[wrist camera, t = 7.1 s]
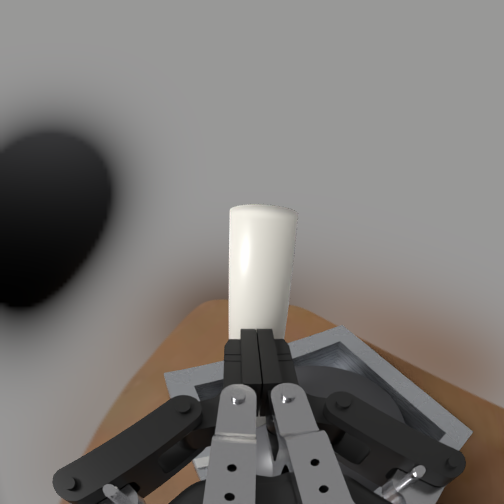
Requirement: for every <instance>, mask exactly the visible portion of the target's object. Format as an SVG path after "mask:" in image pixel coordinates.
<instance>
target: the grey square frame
mask: <svg viewBox="0 0 504 504" xmlns="http://www.w3.org/2000/svg"><path fill="white" fill-rule="evenodd" d="M287 344H288V345H289V347H290V351H291V355H292V359H293V363H294V367H299V366H329V367H335V368H340V369H344V370H348V371H351V372H354V373H356V374H359V375H361V376H363V377H365V378H367V379H369V380H371V381H372V382H374V383H375V384H377V385H378V386H380V387H381V388H382V389H383V390H384V391H386V392H387V393H388V394H389V395H390V397H391V398H392V399H393V400H394V401H395V403H396V404H397V406H398V407H399V409H400V411H401V413H402V416H403V419H404V422H405V424H406V425H408V426H409V427H411V428H413V429H415V430H417V431H419V432H421V433H423V434H425V435H427V436H429V437H431V438H433V439H435V440H437V441H439V442H441V443H443V444H445V445H448V446H450V447H452V448H454V449H456V450H458V451H459V450H460V449H461V447H462V446H463V445H464V443H465V442H466V441H467V440H468V438H469V437H470V435H471V434H472V433H473V431H471V430H470V429H469V428H468V427H467V426H465V425H464V424H463V423H462V422H460V421H459V420H458V419H457V418H456V417H454V416H453V415H452V414H451V413H449V412H448V411H447V410H446V409H445V408H443V407H442V406H441V405H440V404H438V403H437V402H436V401H435V400H434V399H432V398H431V397H430V396H429V395H427V394H426V393H425V392H424V391H423V390H421V389H420V388H419V387H418V386H416V385H415V384H414V383H413V382H412V381H410V380H409V379H408V378H407V377H405V376H404V375H403V374H402V373H400V372H399V371H398V370H397V369H396V368H394V367H393V366H392V365H391V364H389V363H388V362H387V361H386V360H385V359H383V358H382V357H381V356H380V355H378V354H377V353H376V352H375V351H374V350H372V349H371V348H370V347H369V346H367V345H366V344H365V343H364V342H363V341H361V340H360V339H359V338H358V337H356V336H355V335H354V334H353V333H351V332H350V331H349V330H348V329H346V328H345V327H344V326H343V325H341V326H338V327H335V328H332V329H330V330H327V331H324V332H321V333H318V334H315V335H312V336H309V337H306V338H303V339H300V340H297V341H293V342H290V343H287ZM223 374H224V361H220V362H216V363H212V364H207V365H203V366H198V367H193V368H188V369H183V370H178V371H173V372H167V373H164V377H165V381H166V385H167V389H168V393H169V396H170V399H171V398H173V397H175V396H178V395H188V396H192V397H194V398H196V399H197V400H198V401H203V400H208V399H211V398H214V397H215V396H217V395H218V394H219V393H220V392H221V390H222V388H223ZM210 449H211V446H209V447H206V448H205V449H204V451H202V452H201V453H200V454H199V455H198V456H197V457H195V458H194V459H193V460H192V463H193V465H194V468H195V470H196V473H197V475H198V477H199V480H200V481H202V480H205V479H206V477H207V470H208V463H209V456H210ZM374 492H375V493H376V494H378V495H380V496H381V497H383V495H382V487H379V488H377V489H376V490H375V491H374Z"/></svg>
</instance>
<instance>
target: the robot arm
mask: <svg viewBox="0 0 504 504" xmlns="http://www.w3.org/2000/svg"><path fill="white" fill-rule="evenodd" d="M258 414H260V417H264V416H265V417H266V428H265V432H266V437H267V442H268V446H269V451H270V456H271V461H272V467H273V477H267V476H261V475H256V417H258ZM209 446H211V449H210V456H209V463H208V470H207V477H206V479H205V480H202V481H199V482H196V483H195V484H193V485H191V486H189V487H188V488H186V489H185V490H184V491H182V492H181V493H180V494H179V495H178V496H177V497H176V498H174V499H173V500H172V501H171V502H170V503H169V504H436V502H437V500H438V498H439V496H440V495H441V493H442V491H443V489H444V487H445V486H446V485H447V484H448V483H450V482H451V481H452V480H454V479H455V478H456V477H457V476H459V475H460V474H461V473H462V472H463V470H464V468H465V465H466V461H465V457H464V455H463V454H462V453H461V452H460V451H458V450H456V449H454V448H452V447H450V446H448V445H445V444H443V443H441V442H439V441H437V440H435V439H433V438H431V437H429V436H427V435H425V434H423V433H421V432H419V431H417V430H415V429H413V428H411V427H409V426H408V425H406V424H404V423H402V422H400V421H398V420H396V419H394V418H393V417H391V416H389V415H387V414H385V413H384V412H382V411H380V410H378V409H376V408H375V407H373V406H371V405H369V404H368V403H366V402H364V401H363V400H361V399H359V398H357V397H356V396H354V395H352V394H350V393H348V392H343V391H339V392H334V393H332V394H331V395H329V396H328V398H322V397H316V396H312V395H309V394H307V393H306V392H305V391H304V390H303V389H302V388H301V387H300V386H299V383H298V379H297V375H296V371H295V367H294V363H293V359H292V355H291V351H290V347H289V345H288V344H287V343H286V342H285V340H284V339H274V335H273V330H272V329H257V330H256V329H240V339H229V340H228V342H227V343H226V345H225V349H224V374H223V388H222V390H221V392H220V393H219V394H218V395H217V396H215V397H214V398H211V399H208V400H203V401H198V400H197V399H196V398H194V397H192V396H188V395H178V396H175V397H173V398H171V399H170V400H168V401H167V402H166V403H164V404H163V405H161V406H160V407H158V408H157V409H156V410H154V411H153V412H151V413H150V414H148V415H147V416H145V417H144V418H142V419H141V420H140V421H138V422H137V423H135V424H134V425H132V426H131V427H129V428H127V429H126V430H124V431H123V432H121V433H120V434H118V435H117V436H115V437H114V438H112V439H110V440H109V441H107V442H106V443H104V444H102V445H101V446H99V447H97V448H96V449H94V450H92V451H91V452H89V453H87V454H86V455H84V456H82V457H81V458H79V459H77V460H75V461H74V462H72V463H70V464H68V465H67V466H65V467H63V468H61V469H59V470H58V471H57V472H56V473H55V474H54V476H53V486H54V489H55V491H56V493H57V494H58V495H59V496H60V497H62V498H63V499H65V500H66V501H68V502H69V503H70V504H146V503H145V501H144V499H143V498H144V497H146V496H147V495H149V494H150V493H151V492H153V491H154V490H155V489H157V488H158V487H159V486H161V485H162V484H163V483H165V482H166V481H167V480H169V479H170V478H171V477H172V476H174V475H175V474H176V473H177V472H179V471H180V470H181V469H182V468H184V467H185V466H186V465H187V464H188V463H190V462H191V461H192V460H193V459H194V458H195V457H197V456H198V455H199V454H200V453H201V452H202V451H204V449H205V448H206V447H209ZM338 461H339V462H340V463H342V464H343V465H345V466H347V467H348V468H350V469H351V470H353V471H355V472H356V473H358V474H360V475H361V476H363V477H365V478H366V479H368V480H370V481H371V482H373V483H375V484H377V485H378V486H380V487H382V495H383V497H381V496H380V495H378V494H376V493H375V492H373V491H371V490H370V489H368V488H367V487H365V486H363V485H362V484H360V483H359V482H357V481H356V480H354V479H353V478H351V477H349V476H347V475H344V474H342V472H341V469H340V466H339V464H338Z"/></svg>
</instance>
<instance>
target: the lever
mask: <svg viewBox="0 0 504 504" xmlns="http://www.w3.org/2000/svg"><path fill="white" fill-rule="evenodd" d="M297 220H298V213H297V212H296V211H295V210H292V209H289V208H286V207H280V206H275V205H263V204H250V205H240V206H236V207H233V208H231V209H230V233H229V339H240V329H256V330H257V329H272V330H273V335H274V339H284V336H285V328H286V321H287V313H288V305H289V296H290V289H291V280H292V270H293V262H294V251H295V242H296V230H297ZM295 371H296V375H297V379H298V383H299V386H300V387H301V388H302V389H303V390H304V391H305V392H306V393H307V394H309V395H312V396H316V397H322V398H328V396H329V395H331V394H332V393H334V392H339V391H343V392H348V393H350V394H352V395H354V396H356V397H357V398H359V399H361V400H363V401H364V402H366V403H368V404H369V405H371V406H373V407H375V408H376V409H378V410H380V411H382V412H384V413H385V414H387V415H389V416H391V417H393V418H394V419H396V420H398V421H400V422H402V423H404V424H405V422H404V419H403V416H402V413H401V411H400V409H399V407H398V406H397V404H396V403H395V401H394V400H393V399H392V398H391V397H390V395H389V394H388V393H387V392H386V391H384V390H383V389H382V388H381V387H380V386H378V385H377V384H375V383H374V382H372V381H371V380H369V379H367V378H365V377H363V376H361V375H359V374H356V373H354V372H351V371H348V370H344V369H340V368H335V367H329V366H299V367H295ZM265 428H266V417H265V416H264V417H260V414H258V417H256V475H261V476H267V477H273V467H272V461H271V456H270V451H269V446H268V442H267V437H266V432H265ZM338 464H339V466H340V469H341V472H342V474H344V475H347V476H349V477H351V478H353V479H354V480H356V481H357V482H359V483H360V484H362V485H363V486H365V487H367V488H368V489H370V490H371V491H373V492H374V491H375V490H376V489H377V488H379V487H380V486H378V485H377V484H375V483H373V482H371V481H370V480H368V479H366V478H365V477H363V476H361V475H360V474H358V473H356V472H355V471H353V470H351V469H350V468H348V467H347V466H345V465H343V464H342V463H340V462H339V461H338Z"/></svg>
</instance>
